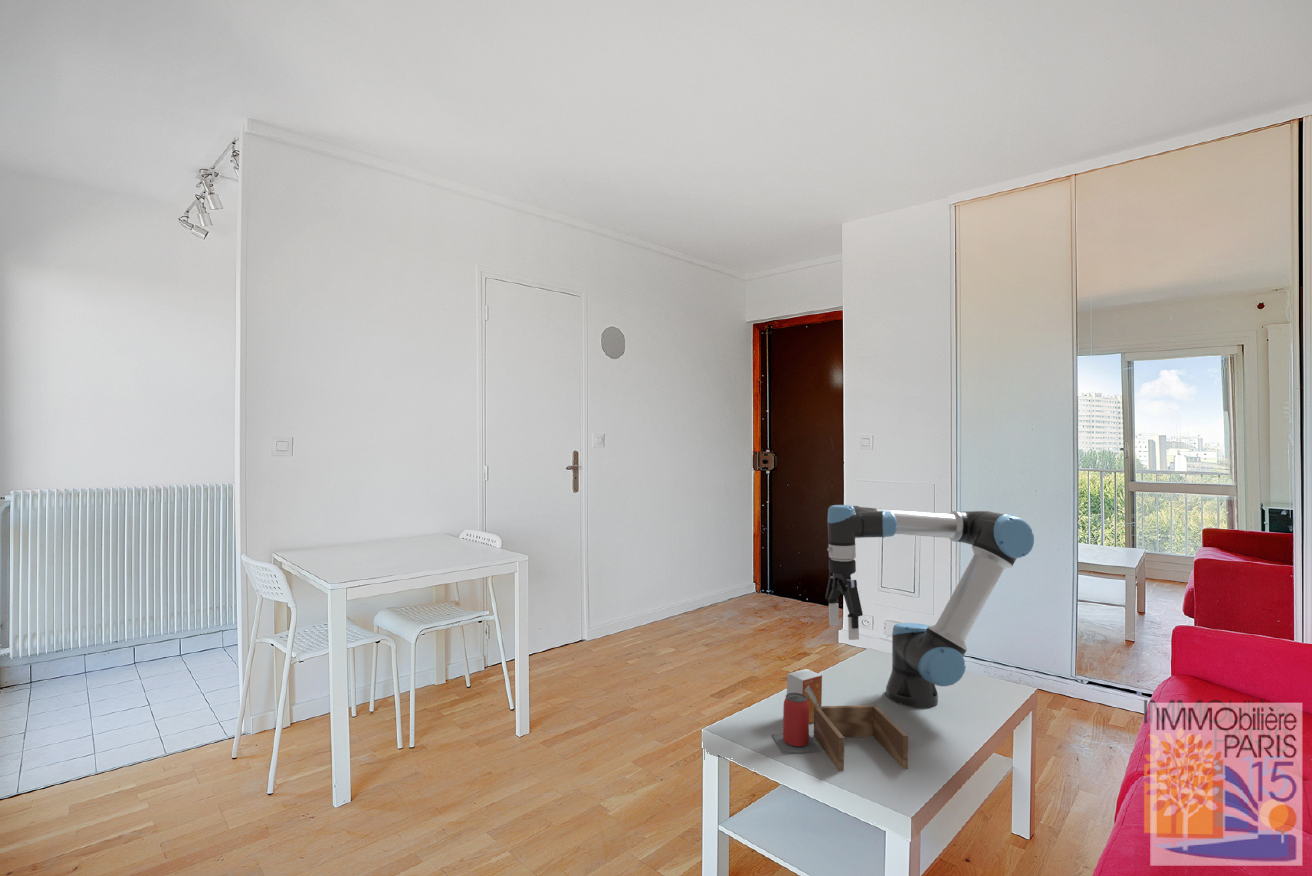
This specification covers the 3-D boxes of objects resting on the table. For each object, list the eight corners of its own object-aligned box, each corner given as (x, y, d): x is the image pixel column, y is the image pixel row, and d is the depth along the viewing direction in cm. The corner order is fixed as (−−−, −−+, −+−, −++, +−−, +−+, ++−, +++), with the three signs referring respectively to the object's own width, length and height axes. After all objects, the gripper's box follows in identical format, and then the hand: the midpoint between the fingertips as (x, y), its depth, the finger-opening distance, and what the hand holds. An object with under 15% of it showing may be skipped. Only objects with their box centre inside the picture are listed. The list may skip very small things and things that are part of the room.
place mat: (808, 734, 172) (808, 733, 172) (820, 752, 162) (820, 751, 162) (772, 735, 171) (772, 734, 171) (782, 753, 161) (782, 752, 161)
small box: (802, 726, 177) (802, 680, 177) (785, 718, 182) (786, 673, 182) (822, 720, 181) (822, 674, 181) (805, 712, 187) (806, 668, 187)
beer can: (780, 736, 170) (780, 692, 170) (803, 736, 170) (804, 691, 170) (787, 748, 163) (787, 702, 163) (812, 747, 164) (812, 701, 164)
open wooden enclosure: (875, 734, 173) (875, 705, 173) (907, 768, 155) (908, 735, 155) (813, 736, 171) (814, 706, 171) (838, 770, 153) (839, 737, 153)
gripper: (813, 551, 195) (815, 620, 195) (847, 567, 170) (849, 646, 170) (836, 550, 196) (838, 619, 196) (874, 566, 171) (876, 644, 171)
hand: (843, 632), depth 183 cm, fingers open, 13 cm apart
